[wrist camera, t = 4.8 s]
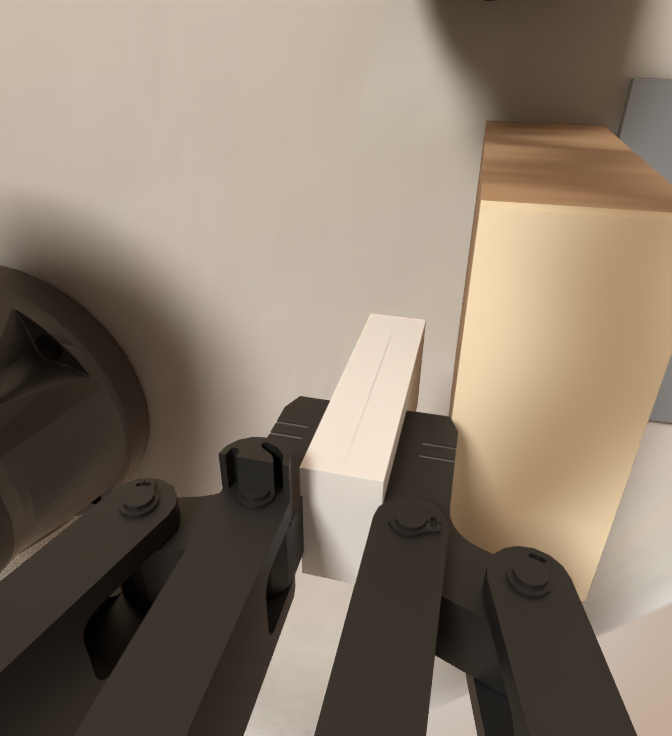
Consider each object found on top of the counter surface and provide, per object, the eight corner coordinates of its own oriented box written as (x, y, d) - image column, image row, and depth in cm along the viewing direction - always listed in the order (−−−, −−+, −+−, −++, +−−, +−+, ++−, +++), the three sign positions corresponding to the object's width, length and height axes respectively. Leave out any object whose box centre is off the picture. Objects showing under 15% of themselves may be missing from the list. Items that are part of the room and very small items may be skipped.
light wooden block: (455, 361, 26) (431, 572, 16) (486, 120, 21) (480, 208, 11) (547, 372, 25) (584, 602, 15) (604, 125, 20) (716, 224, 10)
